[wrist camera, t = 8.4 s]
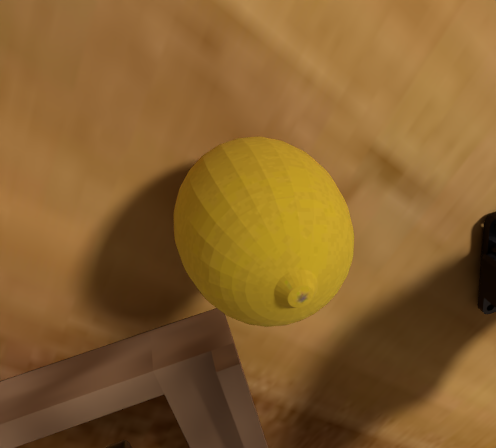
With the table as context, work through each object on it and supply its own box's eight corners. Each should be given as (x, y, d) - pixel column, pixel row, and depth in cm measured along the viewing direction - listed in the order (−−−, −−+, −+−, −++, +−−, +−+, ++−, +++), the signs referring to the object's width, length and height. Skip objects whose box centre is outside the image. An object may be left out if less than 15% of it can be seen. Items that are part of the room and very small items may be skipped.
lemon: (228, 262, 19) (284, 408, 13) (134, 182, 17) (140, 312, 10) (322, 179, 19) (436, 285, 12) (240, 81, 16) (326, 145, 9)
